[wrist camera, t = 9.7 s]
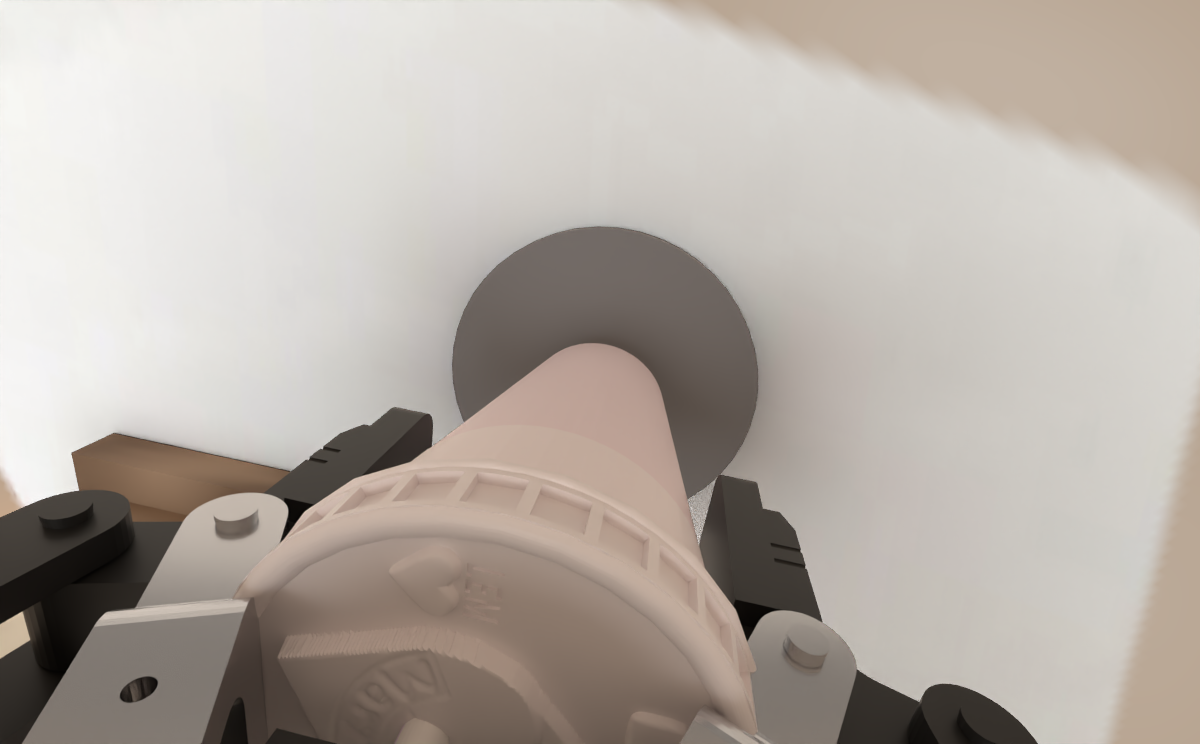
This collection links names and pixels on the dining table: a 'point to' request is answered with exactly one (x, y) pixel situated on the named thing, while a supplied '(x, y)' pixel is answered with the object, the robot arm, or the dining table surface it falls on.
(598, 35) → the dining table surface
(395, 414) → the robot arm
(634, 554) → the smoothie
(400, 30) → the dining table surface
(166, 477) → the placard
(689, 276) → the coaster
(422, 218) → the dining table surface
